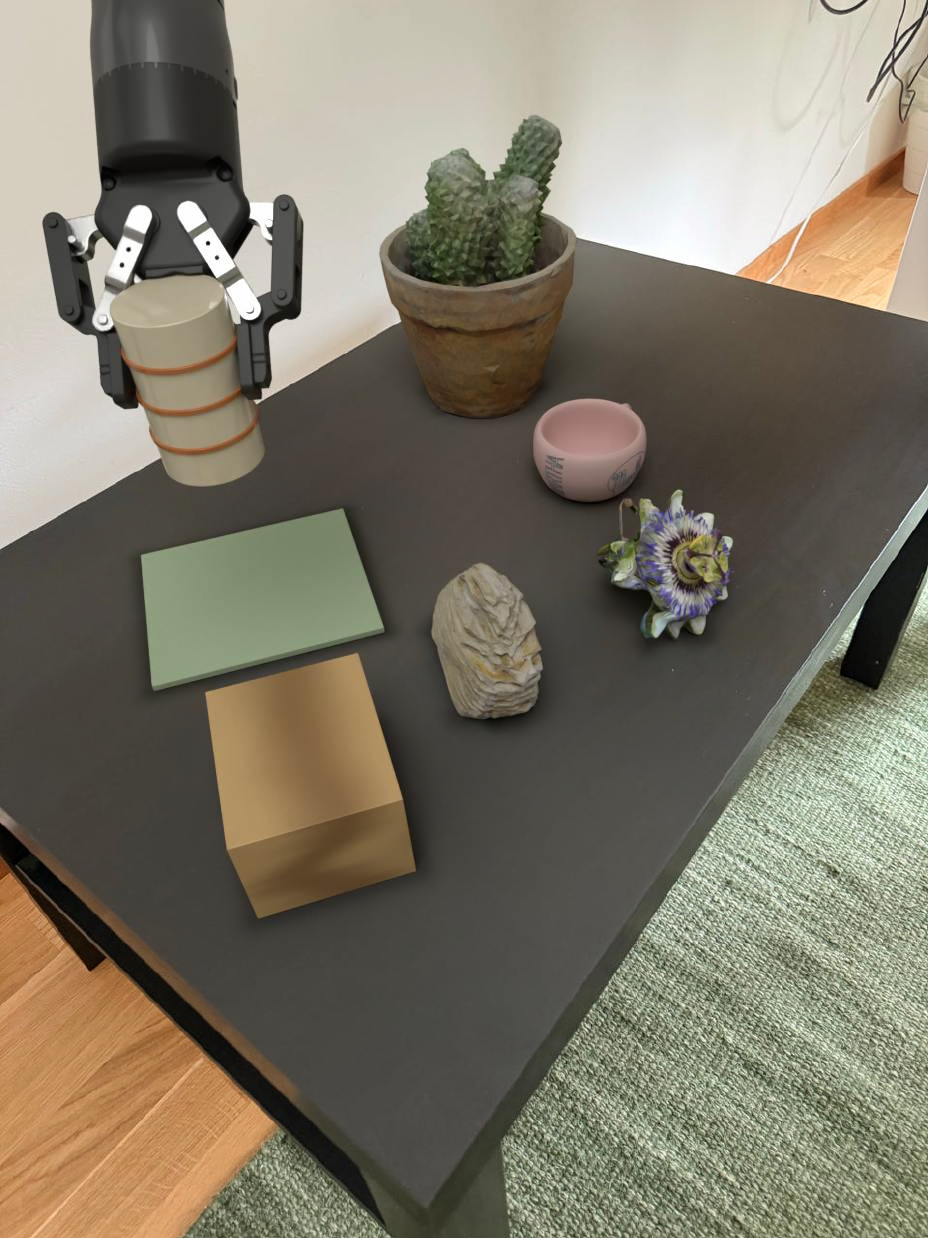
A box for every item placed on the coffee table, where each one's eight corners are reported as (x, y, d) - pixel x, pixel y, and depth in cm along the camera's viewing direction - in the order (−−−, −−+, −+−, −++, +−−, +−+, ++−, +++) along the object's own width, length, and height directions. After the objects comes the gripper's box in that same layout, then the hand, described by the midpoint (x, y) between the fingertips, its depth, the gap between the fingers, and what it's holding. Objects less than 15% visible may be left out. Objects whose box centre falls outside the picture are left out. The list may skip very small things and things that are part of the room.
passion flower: (684, 674, 75) (681, 655, 64) (570, 608, 78) (548, 579, 67) (756, 555, 75) (766, 516, 64) (639, 494, 79) (629, 446, 67)
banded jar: (165, 498, 53) (107, 338, 46) (159, 439, 57) (104, 283, 50) (274, 474, 54) (234, 313, 47) (260, 417, 58) (221, 262, 51)
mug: (604, 529, 80) (607, 473, 76) (511, 490, 85) (510, 435, 81) (673, 461, 87) (680, 406, 82) (584, 428, 91) (586, 374, 87)
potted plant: (517, 459, 88) (511, 189, 71) (360, 411, 96) (319, 155, 78) (601, 369, 99) (615, 114, 81) (454, 332, 106) (437, 91, 89)
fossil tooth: (492, 615, 75) (563, 743, 64) (417, 632, 74) (477, 766, 63) (488, 493, 68) (568, 614, 57) (406, 510, 67) (471, 637, 56)
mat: (153, 691, 70) (151, 686, 70) (142, 559, 81) (140, 554, 81) (385, 632, 73) (384, 627, 73) (343, 513, 84) (343, 507, 84)
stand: (258, 919, 56) (226, 849, 51) (234, 766, 65) (205, 691, 59) (416, 871, 58) (403, 799, 52) (373, 728, 66) (358, 652, 61)
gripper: (1, 67, 47) (26, 396, 47) (282, 44, 47) (307, 374, 47) (66, 142, 55) (87, 425, 55) (309, 122, 54) (330, 407, 55)
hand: (189, 400), depth 51 cm, fingers closed on banded jar, 6 cm apart
